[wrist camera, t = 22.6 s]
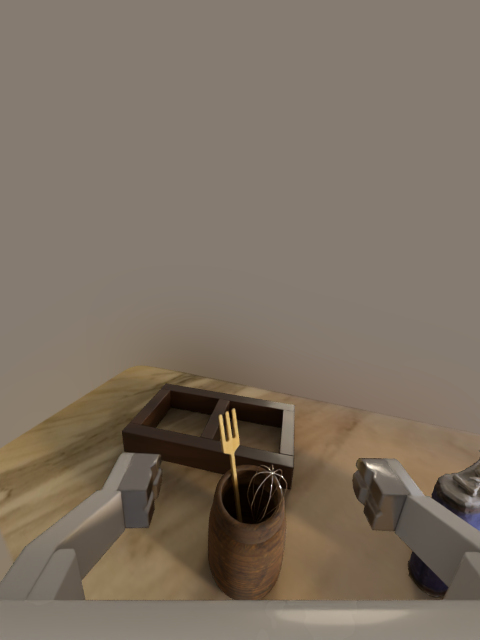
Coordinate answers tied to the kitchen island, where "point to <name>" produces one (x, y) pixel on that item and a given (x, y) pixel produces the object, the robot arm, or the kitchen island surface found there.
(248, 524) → the utensil holder
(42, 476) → the kitchen island surface
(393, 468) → the robot arm
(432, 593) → the flask
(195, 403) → the rack
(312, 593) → the kitchen island surface
